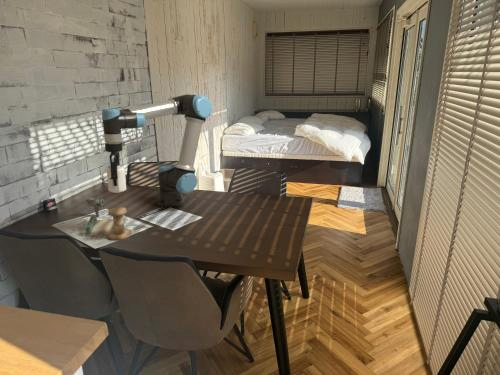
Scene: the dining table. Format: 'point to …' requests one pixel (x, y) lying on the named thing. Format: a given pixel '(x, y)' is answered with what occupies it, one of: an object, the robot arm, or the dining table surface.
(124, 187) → the beverage can
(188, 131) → the robot arm
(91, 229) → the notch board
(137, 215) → the dining table surface
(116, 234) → the bobbin
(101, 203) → the mechanical component
